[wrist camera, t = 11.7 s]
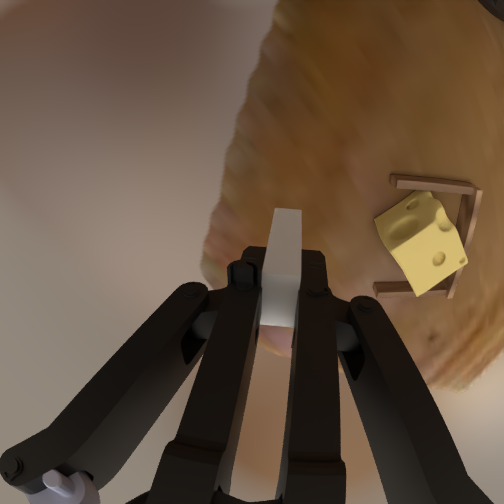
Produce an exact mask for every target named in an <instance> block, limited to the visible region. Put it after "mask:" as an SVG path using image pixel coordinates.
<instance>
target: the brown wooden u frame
mask: <svg viewBox="0 0 504 504" xmlns="http://www.w3.org/2000/svg"><path fill="white" fill-rule="evenodd" d="M390 183H391V184H393V185H394V186H395V187H396V188H401V189H415V190H428V191H439V192H449V193H459V194H463V195H462V200H461V206H460V211H459V215H458V220H457V224H456V229H457V231H458V234H459V237H460V240H461V243H462V245H463V248H464V251H465V254H466V257H467V253H468V250H469V247H470V243H471V240H472V236H473V232H474V228H475V224H476V220H477V216H478V211H479V207H480V202H481V197H482V192H483V191H482V190H481V189H479V188H478V187H476V186H475V185H473V184H471V183H470V182H462V181H455V180H446V179H438V178H428V177H418V176H407V175H394V174H390ZM462 269H463V267H461V268H459V269H458V270H456V271H455V272H453V273H452V274H450V275H449V276H447V277H446V278H445V279H443V280H442V281H440V282H439V283H437V284H436V285H435V286H433V287H432V288H431V289H429V290H428V291H426V292H425V293H423V294H421V295H420V296H418V297H423V296H440V295H445V296H446V297H447V299H448V298H452V297H453V295H454V292H455V289H456V287H457V284H458V281H459V278H460V275H461V272H462ZM373 289H374V292H375V295H376V297H377V298H403V297H417V296H416V295H415V293H414V291H413V289H412V287H411V285H410V283H409V282H374V285H373Z"/></svg>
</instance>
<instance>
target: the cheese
mask: <svg viewBox="0 0 504 504" xmlns="http://www.w3.org/2000/svg"><path fill="white" fill-rule="evenodd" d="M374 221H375V223H376V227H377V230H378V233H379V236H380V238H381V240H382V242H383V243H384V245H385V247H386V248H387V249H388V251H389V252H390V253H391V255H392V256H393V257H394V259H395V260H396V261H397V263H398V264H399V265H400V267H401V269H402V270H403V272H404V274H405V276H406V278H407V280H408V281H409V283H410V285H411V287H412V289H413V291H414V293H415V295H416V296H417V297H418V296H420V295H421V294H423V293H425V292H426V291H428V290H429V289H431V288H432V287H433V286H435V285H436V284H437V283H439V282H440V281H442V280H443V279H445V278H446V277H447V276H449V275H450V274H452V273H453V272H455V271H456V270H458V269H459V268H461V267H463V266H464V265H465V264H467V263H468V260H467V257H466V254H465V251H464V248H463V245H462V243H461V240H460V237H459V234H458V231H457V229H456V227H455V226H454V225H453V224H452V223H451V222H450V220H449V219H448V217H447V215H446V213H445V210H444V208H443V206H442V204H441V202H440V201H439V200H438V199H436V198H433V196H432V194H431V192H430V191H428V190H415V191H414V192H413V193H412V194H410V195H409V196H408V197H407V198H405V199H404V200H402V201H401V202H399V203H398V204H396V205H395V206H393V207H392V208H390V209H389V210H387V211H386V212H384V213H383V214H381V215H380V216H378V217H377V218H375V219H374Z"/></svg>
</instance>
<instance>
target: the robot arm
mask: <svg viewBox="0 0 504 504" xmlns="http://www.w3.org/2000/svg"><path fill="white" fill-rule="evenodd" d="M479 1H480V2H481V4H482V5H483V6H484V7H485V8H486V9H487V10H488V11H490V12H491V13H492V14H493V15H494V16H496V17H497V18H499V19H501V20H503V21H504V0H479ZM227 275H228V285H227V287H225V288H222V289H218V290H210V291H208V288H207V287H206V285H204V284H202V283H200V282H188V283H185V284H182V285H181V286H179V287H178V288H177V289H176V290H175V291H174V292H173V293H172V294H171V295H170V296H169V297H168V298H167V299H166V300H165V301H164V302H163V304H161V305H160V307H159V308H158V309H157V310H156V311H155V312H154V313H153V314H152V315H151V316H150V317H149V318H148V319H147V320H146V321H145V322H144V323H143V324H142V325H141V326H140V327H139V328H138V329H137V331H136V332H135V333H134V334H133V335H132V336H131V337H130V338H129V339H128V340H127V341H126V342H125V343H124V344H123V345H122V346H121V347H120V349H119V350H118V351H117V352H116V353H115V354H114V355H113V356H112V357H111V358H110V359H109V360H108V361H107V363H106V364H105V365H104V366H103V367H102V368H101V369H100V370H99V371H98V372H97V373H96V374H95V375H94V377H93V378H92V379H91V380H90V381H89V382H88V383H87V384H86V385H85V387H84V388H83V389H82V390H81V391H80V392H79V393H78V394H77V395H76V396H75V397H74V399H73V400H72V401H71V402H70V403H69V404H68V405H67V407H66V408H65V409H64V410H63V411H62V412H61V413H60V415H59V416H58V417H57V418H56V419H55V420H54V421H53V422H52V423H51V425H50V426H49V427H48V428H46V429H44V430H42V431H40V432H39V433H37V434H35V435H33V436H31V437H30V438H28V439H26V440H24V441H22V442H21V443H19V444H17V445H15V446H13V447H11V448H9V449H7V450H6V451H5V452H4V453H3V454H2V456H1V458H0V474H1V475H2V477H3V479H4V480H5V481H6V482H7V483H8V484H9V485H11V486H13V487H15V488H17V489H18V490H20V491H22V492H24V493H25V495H26V496H27V498H28V501H29V502H30V504H100V499H99V498H100V497H99V493H98V490H100V489H101V488H103V487H104V486H105V485H106V484H107V483H108V482H109V481H110V480H111V479H112V478H113V477H114V476H115V475H116V474H117V473H118V472H119V470H120V469H121V468H122V466H123V465H124V464H125V462H126V461H127V460H128V458H129V457H130V456H131V454H132V452H134V450H135V449H136V447H137V446H138V445H139V443H140V442H141V440H142V439H143V438H144V436H145V435H146V434H147V432H148V431H149V430H150V428H151V427H152V425H153V424H154V423H155V421H156V420H157V419H158V417H159V416H160V414H161V413H162V412H163V410H164V409H165V407H166V406H167V405H168V403H169V402H170V400H171V399H172V398H173V396H174V395H175V393H176V392H177V391H178V389H179V388H180V386H181V385H182V383H183V382H184V381H185V379H186V378H187V376H188V375H189V374H190V372H191V371H192V369H193V368H194V366H195V365H196V363H197V362H198V361H199V359H200V358H201V356H202V355H203V357H202V360H201V363H200V366H199V369H198V372H197V375H196V378H195V381H194V384H193V387H192V390H191V393H190V396H189V399H188V402H187V405H186V408H185V411H184V414H183V417H182V420H181V422H180V426H179V429H178V432H177V434H176V437H175V438H174V440H172V441H170V442H169V443H168V444H167V445H166V447H165V449H164V451H163V454H162V457H161V460H160V462H159V465H158V468H157V472H156V474H155V477H154V480H153V483H152V486H151V489H150V491H148V492H145V493H143V494H141V495H140V496H138V497H136V498H134V499H132V500H131V501H129V502H127V503H126V504H345V500H346V499H345V498H346V467H345V463H344V462H343V461H342V459H341V455H340V453H341V452H340V451H341V447H340V446H341V445H340V443H341V442H340V439H341V438H340V437H341V436H340V396H339V395H340V393H339V372H338V357H339V359H340V362H341V365H342V367H343V370H344V373H345V375H346V378H347V381H348V384H349V386H350V389H351V392H352V395H353V398H354V400H355V403H356V406H357V409H358V412H359V415H360V417H361V420H362V423H363V426H364V429H365V432H366V435H367V438H368V441H369V444H370V447H371V450H372V453H373V457H374V459H375V463H376V466H377V469H378V472H379V475H380V479H381V482H382V485H383V488H384V492H385V495H386V499H387V502H388V504H494V503H493V502H492V501H491V500H490V499H489V498H488V497H487V496H486V495H485V494H484V492H483V491H482V490H481V489H480V488H479V487H478V486H477V485H476V484H475V483H474V482H473V480H471V479H470V477H469V476H468V475H467V472H466V470H465V467H464V465H463V462H462V460H461V457H460V455H459V453H458V450H457V448H456V446H455V443H454V441H453V439H452V437H451V434H450V432H449V430H448V428H447V426H446V424H445V422H444V420H443V417H442V415H441V413H440V411H439V409H438V407H437V405H436V403H435V401H434V399H433V397H432V395H431V393H430V391H429V389H428V387H427V385H426V383H425V381H424V379H423V378H422V376H421V374H420V372H419V370H418V368H417V366H416V365H415V363H414V361H413V359H412V357H411V356H410V354H409V352H408V350H407V348H406V347H405V345H404V343H403V341H402V340H401V338H400V336H399V334H398V333H397V331H396V329H395V328H394V326H393V324H392V323H391V321H390V319H389V318H388V316H387V314H386V313H385V311H384V309H383V308H382V306H381V304H380V303H379V302H378V301H377V300H375V299H374V298H372V297H368V296H357V297H354V298H353V299H352V300H351V302H348V301H344V300H341V299H339V298H337V297H335V296H334V295H333V294H332V292H331V289H330V288H329V287H328V279H327V270H326V262H325V256H324V255H323V254H322V253H321V251H315V250H303V249H301V210H295V209H282V208H275V212H274V216H273V221H272V226H271V231H270V236H269V241H268V246H267V247H256V246H249V247H247V248H246V249H245V250H244V251H243V254H242V256H241V259H240V260H237V261H234V262H232V263H230V264H229V265H228V267H227ZM259 324H263V325H273V326H284V327H294V332H293V339H292V345H291V348H292V356H291V369H290V381H289V392H288V402H287V412H286V422H285V431H284V440H283V449H282V457H281V465H280V472H279V480H278V485H277V490H276V495H275V500H267V501H259V502H245V501H242V500H240V499H237V498H235V497H232V496H230V495H229V492H230V486H231V476H232V470H233V465H234V461H235V456H236V451H237V446H238V441H239V436H240V431H241V426H242V421H243V416H244V411H245V405H246V400H247V395H248V390H249V385H250V380H251V374H252V369H253V364H254V358H255V353H256V347H257V342H258V336H259ZM337 354H338V355H337Z"/></svg>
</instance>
